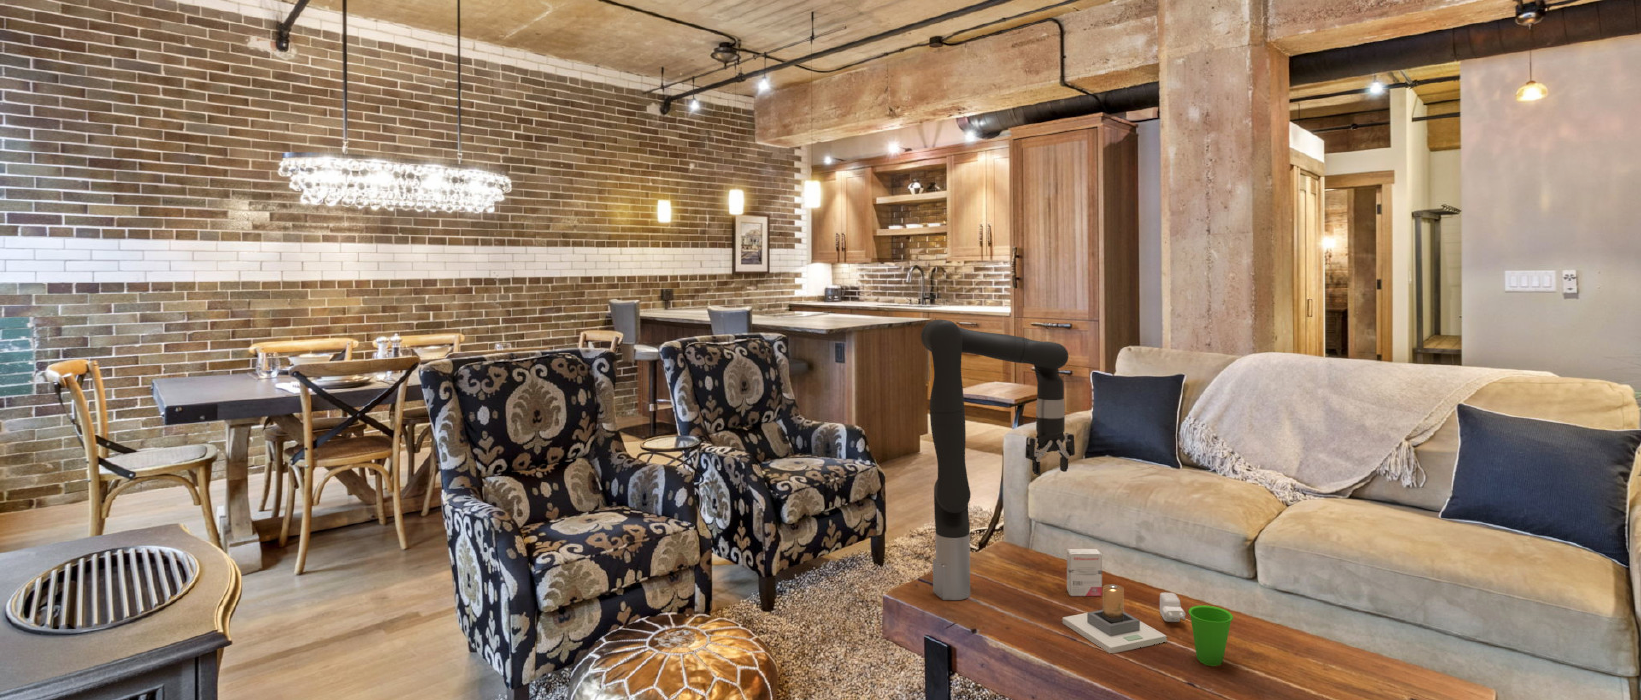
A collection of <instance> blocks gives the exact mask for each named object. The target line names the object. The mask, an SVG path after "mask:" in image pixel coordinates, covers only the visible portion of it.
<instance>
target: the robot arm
mask: <svg viewBox="0 0 1641 700" xmlns="http://www.w3.org/2000/svg"><path fill="white" fill-rule="evenodd" d="M920 333H921V334H920V340H921V342H922V345H923V346H924V347H925V349H927V350H928V351H929V352H931V356H932V364H933V382H932V388H931V392H930V397H929V398H930V399H929V417H930V418H929V419H930V421H929V422H930V430H931V435H932V441H933V445H934V450H935V454H936V455H935V456H936V460H937V479H936V481H935V483H934V486H933V487H934V488H933V495H934V496H933V499H934V500H933V503H934V504H933V506H934V507H933V508H934V511H933V512H934V513H933V514H934V523H935V524H934V528H935V529H934V533H935V558H933V559H932V590H933V591H932V593H934V594H935V596H937V597H938V598H940V599H941V600H943V601H961V600H965V599H966V600H967V598H969V597H970V596H971V538H970V536H971V535H970V533H971V529H970V528H971V527H970V518H969V517H970V515H969V503H970V501H971V488H970V485H969V478H968V474H967V473H968V472H967V466H966V464H967V463H966V440H967V439H966V438H967V437H966V435H967V434H966V432H967V431H966V410H965V409H966V407H965V400H964V388H963V378H962V355H963V353H966V354H973V355H978V356H982V357H986V358H991V359H993V360H994V359H995V360H999V361H1005V362H1011V363H1017V364H1028V365H1029V364H1030V365H1033V367H1034V373H1035V378H1036V383H1037V385H1036V389H1037V390H1036V397H1037V398H1036V399H1037V400H1036V408H1035V409H1036V412H1035V413H1036V414H1035V425H1036V427H1035V429H1036V437H1030V436H1027V437H1026V440H1025V441H1026V442H1025V458H1026V459H1028V460H1029V461H1031V468H1032V470H1031V471H1032V473H1033V474H1034V475H1037V476H1040V475H1041V461H1040V460H1042V457H1043V456H1045V455H1046V453H1051V452H1057V454H1059V455H1060V457H1059V470H1060V471H1061V472H1064V473H1066V472H1067V471H1068V469H1069V458H1070V457H1071V456H1075V454H1076V451H1075V447H1076V445H1075V435H1074V434H1072V433H1069V432H1066V433H1064V432H1065V428H1066V427H1065V425H1066V424H1065V423H1066V422H1065V420H1066V414H1065V413H1066V412H1065V411H1066V410H1065V409H1066V406H1065V400H1064V399H1065V385H1064V380H1063V379H1062V378H1061V376H1060V374H1059V373H1060V372H1059V369H1061V368H1063V367H1064V366H1065V365H1066V364H1067V362H1068V361H1069V352H1068V350H1067V348H1066V347H1065V346H1063V345H1062V344H1061V343H1057V342H1052V341H1042V340H1033V339H1030V338H1027V337H1022V336H1017V335H1010V334H1005V333H994V332H986V331H985V332H984V331H977V330H972V329H967V328H963V327H960V326H958V324H956V323H955V322H954V321H951V320H947V319H934V320H931V321H929V322H928V323H926V324H925V325H924V327H922V330H921V332H920ZM1064 442H1065V446H1064V445H1063V443H1064Z"/></svg>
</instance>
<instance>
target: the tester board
mask: <svg viewBox="0 0 1641 700" xmlns="http://www.w3.org/2000/svg"><path fill="white" fill-rule="evenodd" d="M1102 613H1103V609H1100V610H1098V609H1097V610H1093V611H1090V612H1088V611H1087V612H1084V613H1079V614H1074V615H1068V616H1064V617H1062V624H1063V625H1064V626H1066V627H1068V628H1069V629H1071V630H1072V631H1074V632H1075V633H1077V634H1078V635H1080V636H1081V637H1083V638H1085V639H1087V641H1089V642H1091V643H1093V644H1094V645H1096V646H1097V647H1099V648H1100V647H1101V649H1102V648H1103V649H1104V650H1103V649H1102V650H1103V651H1105V650H1106V651H1105V652H1107V653H1108V654H1110V653H1113V654H1116V653H1122V652H1126V651H1131V650H1135V649H1136V650H1137V649H1140V647H1141V648H1146V647H1150V646H1155V645H1159V643H1160V644H1164V643H1163V642H1165V643H1167V640H1168V638H1167V637H1168V636H1167V635H1165V634H1164V633H1163V632H1161V631H1159V630H1157V629H1155V628H1154V627H1151V626H1150V625H1148V624H1146V623H1145V622H1143V621H1141V620H1140V619H1139V618H1136V617H1135V616H1133V615H1132V614H1130V613H1127V612H1125V611H1124V621H1123V622H1118V623H1113V624H1110V623H1109V622H1107V621H1105V620H1104V619H1102ZM1154 644H1155V645H1154Z"/></svg>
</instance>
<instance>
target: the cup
mask: <svg viewBox="0 0 1641 700" xmlns="http://www.w3.org/2000/svg"><path fill="white" fill-rule="evenodd" d="M1188 614H1189V615H1190V621H1191V628H1192V629H1191V630H1192V635H1193V642H1194V648H1195V655H1196V659H1197V661H1198V660H1199V661H1200V662H1201V664H1202V663H1203V664H1202V665H1205V666H1209V665H1210V666H1211V667H1217V665H1219V666H1221V665H1222V664H1223V662H1224V657H1225V652H1226V648H1227V643H1228V638H1229V631H1230V629H1231V628H1230V627H1231V622H1232V621H1233V619H1234V616H1233V614H1232V613H1231V612H1230V611H1229V610H1227V609H1224V608H1222V607H1218V606H1214V605H1204V604H1203V605H1194V606H1191V607H1189V609H1188ZM1199 661H1198V662H1199ZM1200 662H1199V663H1200ZM1210 666H1209V667H1210Z"/></svg>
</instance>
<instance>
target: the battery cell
mask: <svg viewBox="0 0 1641 700" xmlns="http://www.w3.org/2000/svg"><path fill="white" fill-rule="evenodd" d="M1124 599H1125V588H1124V587H1123V586H1122V585H1120V584H1119V585H1118V584H1114V583H1113V584H1111V583H1108V584H1104V585H1102V610H1103V613H1102V619H1104V620H1105V621H1107V622H1109V623H1110V624H1113V623H1118V622H1123V621H1124V612H1125V610H1124V609H1125V608H1124V607H1125V605H1124V604H1125V602H1124V601H1125V600H1124Z"/></svg>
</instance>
